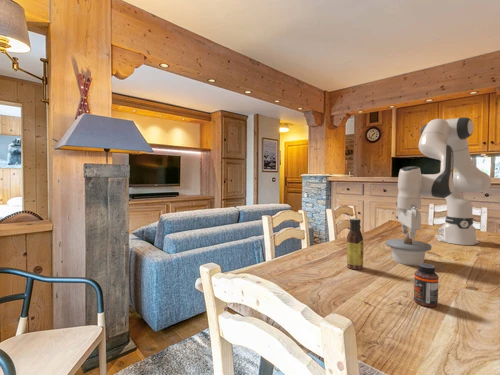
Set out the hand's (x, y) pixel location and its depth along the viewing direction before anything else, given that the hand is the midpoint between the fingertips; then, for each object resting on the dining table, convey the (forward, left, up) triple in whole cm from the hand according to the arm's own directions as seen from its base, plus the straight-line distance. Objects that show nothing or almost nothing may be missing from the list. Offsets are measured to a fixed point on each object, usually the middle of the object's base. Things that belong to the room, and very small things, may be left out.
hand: (408, 236), depth 118 cm
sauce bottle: (+14, -23, -11) cm, 29 cm away
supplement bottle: (+41, -6, -11) cm, 43 cm away
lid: (0, 0, -4) cm, 4 cm away
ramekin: (0, 0, -11) cm, 11 cm away
